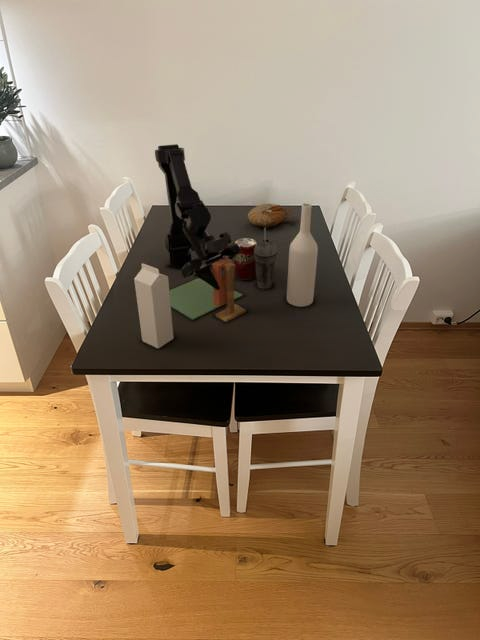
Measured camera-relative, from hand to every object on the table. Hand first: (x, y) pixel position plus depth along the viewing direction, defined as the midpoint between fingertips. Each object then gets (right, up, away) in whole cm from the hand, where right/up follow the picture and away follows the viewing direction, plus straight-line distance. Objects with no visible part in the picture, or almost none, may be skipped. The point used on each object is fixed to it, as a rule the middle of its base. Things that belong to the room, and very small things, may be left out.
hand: (226, 286), depth 141 cm
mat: (-9, -2, +12) cm, 15 cm away
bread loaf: (+18, +29, +61) cm, 70 cm away
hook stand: (0, -7, +4) cm, 9 cm away
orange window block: (-1, -4, +4) cm, 6 cm away
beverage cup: (+12, +1, +18) cm, 22 cm away
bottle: (+22, -4, +10) cm, 25 cm away
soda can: (+6, +5, +24) cm, 25 cm away
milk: (-18, -15, -7) cm, 25 cm away
